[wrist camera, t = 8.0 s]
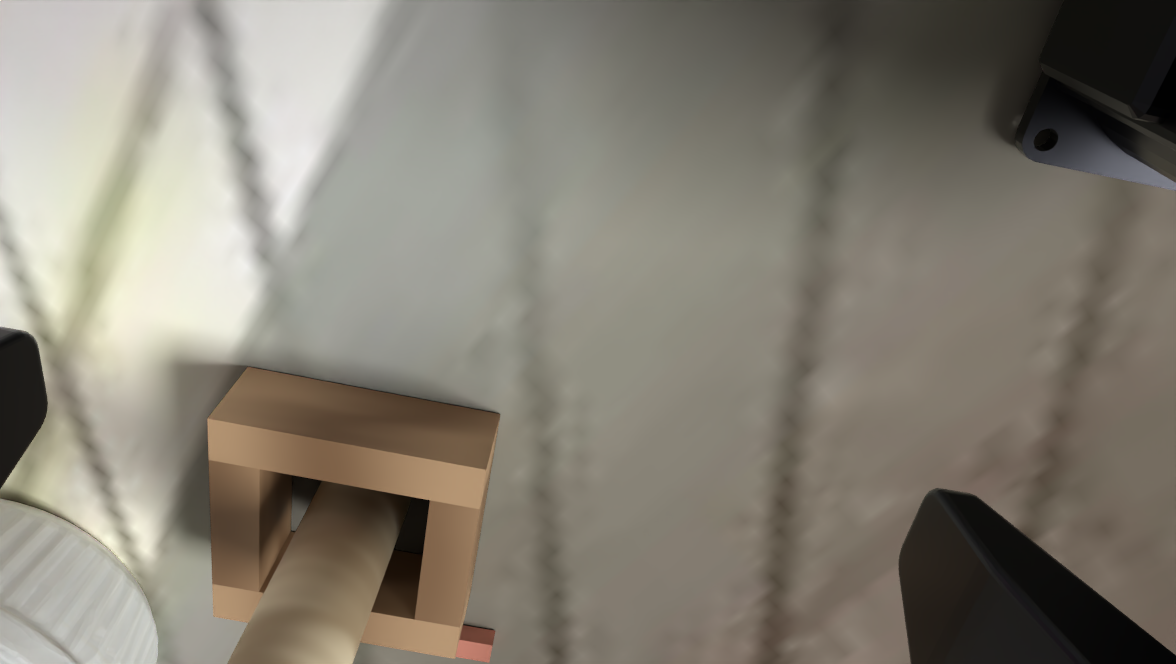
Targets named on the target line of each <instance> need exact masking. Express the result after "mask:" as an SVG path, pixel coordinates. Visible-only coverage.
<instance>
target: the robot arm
mask: <svg viewBox="0 0 1176 664" xmlns="http://www.w3.org/2000/svg"><path fill="white" fill-rule="evenodd" d="M1039 62H1040V64H1041V67H1042V69H1043V72H1042V74H1041V77H1040V79H1039V81H1038V84H1037V86H1036V88H1035V90H1034V93H1033V95H1032V97H1031V100H1030V102H1029V104H1028V106H1027V109H1026V111H1025V113H1024V116H1023V118H1022V120H1021V122H1020V125H1019V127H1018V129H1017V132H1016V137H1015V142H1016V147H1017V148H1018V150H1019V151H1020V152H1021V153H1022V154H1023V155H1024V156H1026V157H1027V158H1028V159H1031V160H1033V161H1035V162H1039V163H1044V164H1049V165H1054V166H1058V167H1063V168H1068V169H1073V170H1078V171H1083V172H1088V173H1092V174H1097V175H1102V176H1107V177H1112V178H1117V179H1122V180H1126V181H1131V182H1136V183H1141V184H1146V185H1151V186H1156V187H1160V188H1165V189H1170V190H1175V191H1176V0H1064V2H1063V5H1062V7H1061V9H1060V11H1059V14H1058V16H1057V18H1056V21H1055V23H1054V25H1053V28H1052V30H1051V32H1050V35H1049V37H1048V39H1047V42H1046V44H1045V46H1044V48H1043V51H1042V53H1041V55H1040V58H1039ZM1044 129H1050V131H1051V133H1050V138H1049V139H1048V140H1047V142H1046V143H1044V144H1042V145H1040V146H1034V138H1035V136H1036V135H1037V134H1038V132H1040V131H1042V130H1044ZM47 405H48V402H47V394H46V388H45V382H44V377H43V371H42V365H41V359H40V354H39V348H38V344H37V342H36V340H35V339H34V337H33V336H32V335H31V334H29V333H28V332H26V331H22V330H16V329H10V328H5V327H0V489H1V487H2V486H3V484H4V483H5V481H6V480H7V478H8V477H9V475H10V474H11V472H12V470H13V469H14V467H15V466H16V464H17V463H18V461H19V460H20V458H21V457H22V455H23V454H24V452H25V451H26V449H27V448H28V446H29V445H30V443H31V442H32V440H33V439H34V437H35V436H36V434H37V432H38V431H39V429H40V428H41V426H42V424H43V422H44V419H45V417H46V413H47ZM899 577H900V585H901V592H902V600H903V608H904V615H905V623H906V630H907V638H908V645H909V653H910V660H911V664H1176V655H1175V654H1173V653H1172V652H1171V651H1170V650H1168V649H1167V648H1166V647H1165V646H1163V645H1162V644H1161V643H1159V642H1158V641H1157V640H1156V639H1154V638H1153V637H1152V636H1151V635H1149V634H1148V633H1147V632H1146V631H1144V630H1143V629H1142V628H1141V627H1139V626H1138V625H1137V624H1136V623H1134V622H1133V621H1132V620H1131V619H1129V618H1128V617H1127V616H1126V615H1124V614H1123V613H1122V612H1121V611H1119V610H1118V609H1117V608H1116V607H1114V606H1113V605H1112V604H1111V603H1109V602H1108V601H1107V600H1106V599H1104V598H1103V597H1102V596H1101V595H1099V594H1098V593H1097V592H1096V591H1094V590H1093V589H1092V588H1091V587H1089V586H1088V585H1087V584H1086V583H1084V582H1083V581H1082V580H1081V579H1079V578H1078V577H1077V576H1076V575H1074V574H1073V573H1072V572H1071V571H1069V570H1068V569H1067V568H1066V567H1064V566H1063V565H1062V564H1061V563H1059V562H1058V561H1057V560H1056V559H1054V558H1053V557H1052V556H1051V555H1049V554H1048V553H1047V552H1046V551H1044V550H1043V549H1042V548H1041V547H1039V546H1038V545H1037V544H1036V543H1034V542H1033V541H1032V540H1031V539H1029V538H1028V537H1027V536H1026V535H1024V534H1023V533H1022V532H1021V531H1019V530H1018V529H1017V528H1016V527H1014V526H1013V525H1012V524H1011V523H1009V522H1008V521H1007V520H1006V519H1004V518H1003V517H1002V516H1001V515H999V514H998V513H997V512H996V511H994V510H993V509H992V508H991V507H989V506H988V505H987V504H986V503H984V502H983V501H982V500H981V499H979V498H978V497H977V496H975V495H973V494H970V493H965V492H959V491H953V490H947V489H941V488H936V489H933V490H931V491H929V492H928V494H927V495H926V496H925V498H924V499H923V501H922V503H921V506H920V508H919V510H918V512H917V514H916V517H915V519H914V521H913V523H912V525H911V528H910V530H909V532H908V534H907V536H906V539H905V541H904V543H903V545H902V548H901V552H900V556H899Z"/></svg>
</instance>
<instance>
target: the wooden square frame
mask: <svg viewBox="0 0 1176 664" xmlns="http://www.w3.org/2000/svg"><path fill="white" fill-rule="evenodd" d="M499 420H500V414H497V413H492V412H486V411H481V410H476V409H470V408H465V407H460V406H454V405H449V404H444V403H438V402H433V401H428V400H422V399H417V398H412V397H406V396H401V395H396V394H390V393H385V392H380V391H374V390H369V389H364V388H358V387H353V386H348V385H342V384H337V383H332V382H326V381H321V380H316V379H310V378H305V377H300V376H294V375H289V374H284V373H278V372H273V371H268V370H262V369H257V368H252V367H247V368H246V370H245V371H244V372H243V374H242V375H241V376H240V377H239V379H238V380H237V381H236V382H235V384H234V385H233V386H232V388H231V389H230V390H229V391H228V393H227V394H226V395H225V397H224V398H223V399H222V400H221V402H220V403H219V404H218V405H217V407H216V408H215V409H214V411H213V412H212V413H211V414H210V416H209V417H208V418H207V425H208V457H209V489H210V521H211V553H212V585H213V616H214V617H219V618H224V619H230V620H236V621H242V622H247V623H249V621H250V619H251V617H252V615H253V613H254V611H255V609H256V607H257V605H258V603H259V602H260V600H261V598H262V596H263V594H264V592H265V590H266V588H267V586H268V584H269V582H270V580H271V578H272V576H273V574H274V573H275V571H276V569H277V567H278V565H279V563H280V561H281V559H282V557H283V555H284V553H285V551H286V549H287V547H288V545H289V544H290V542H291V540H292V538H293V536H294V534H295V532H291V508H292V475H294V476H300V477H305V478H311V479H316V480H322V481H327V482H333V483H338V484H344V485H349V486H355V487H360V488H366V489H371V490H377V491H382V492H388V493H393V494H398V495H404V496H409V497H415V498H420V499H426V500H430V503H429V511H428V519H427V527H426V534H425V542H424V550H423V555H419V554H414V553H408V552H403V551H397V550H393V552H392V555H391V558H390V561H389V563H388V566H387V569H386V572H385V574H384V577H383V580H382V583H381V585H380V588H379V591H378V594H377V597H376V599H375V602H374V605H373V608H372V610H371V613H370V616H369V619H368V621H367V624H366V627H365V630H364V633H363V635H362V638H361V641H360V642H362V643H367V644H373V645H379V646H385V647H390V648H396V649H402V650H408V651H413V652H419V653H425V654H430V655H436V656H442V657H448V658H453V659H455V657H460V658H466V659H471V660H477V661H483V662H489V660H490V655H491V650H492V645H493V640H494V634H495V631H493V630H488V629H482V628H476V627H471V626H465V625H463V622H464V618H465V613H466V609H467V605H468V601H469V596H470V591H471V585H472V579H473V573H474V567H475V561H476V556H477V550H478V544H479V538H480V532H481V526H482V520H483V514H484V508H485V502H486V496H487V491H488V485H489V479H490V473H491V467H492V461H493V455H494V449H495V443H496V437H497V431H498V425H499Z"/></svg>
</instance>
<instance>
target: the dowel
mask: <svg viewBox="0 0 1176 664" xmlns="http://www.w3.org/2000/svg"><path fill="white" fill-rule="evenodd" d="M410 502H411V497H409V496H404V495H398V494H393V493H388V492H382V491H377V490H371V489H366V488H360V487H355V486H349V485H344V484H338V483H333V482H327V481H322V482H321V484H320V486H319V487H318V489H317V491H316V493H315V495H314V497H313V499H312V501H311V503H310V505H309V507H308V509H307V511H306V513H305V515H304V516H303V518H302V520H301V522H300V524H299V526H298V528H297V530H296V532H295V534H294V536H293V538H292V540H291V542H290V544H289V545H288V547H287V549H286V551H285V553H284V555H283V557H282V559H281V561H280V563H279V565H278V567H277V569H276V571H275V573H274V574H273V576H272V578H271V580H270V582H269V584H268V586H267V588H266V590H265V592H264V594H263V596H262V598H261V600H260V602H259V603H258V605H257V607H256V609H255V611H254V613H253V615H252V617H251V619H250V621H249V623H248V625H247V627H246V629H245V630H244V632H243V634H242V636H241V638H240V640H239V642H238V644H237V646H236V648H235V650H234V652H233V654H232V656H231V658H230V659H229V661H228V663H227V664H352V663H353V660H354V657H355V655H356V652H357V649H358V646H359V644H360V641H361V638H362V635H363V633H364V630H365V627H366V624H367V621H368V619H369V616H370V613H371V610H372V608H373V605H374V602H375V599H376V597H377V594H378V591H379V588H380V585H381V583H382V580H383V577H384V574H385V572H386V569H387V566H388V563H389V561H390V558H391V555H392V552H393V549H394V547H395V544H396V541H397V538H398V536H399V533H400V530H401V527H402V524H403V522H404V519H405V516H406V513H407V511H408V508H409V505H410Z"/></svg>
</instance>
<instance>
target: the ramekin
mask: <svg viewBox="0 0 1176 664" xmlns="http://www.w3.org/2000/svg"><path fill="white" fill-rule="evenodd" d="M157 645H158V636H157V632H156V625H155V621H154V619H153V616H152V612H151V609H150V606H149V603H148V600H147V598H146V596H145V594H144V592H143V590H142V588H141V587H140V585H139V584H138V582H137V581H136V579H135V578H134V576H133V575H132V574H131V572H130V571H129V570H128V569H127V567H126V566H125V565H124V564H123V563H122V562H121V561H120V560H119V559H118V558H117V557H116V556H115V555H114V554H113V553H112V552H111V551H110V550H109V549H108V548H106V547H105V546H104V545H103V544H101V543H100V542H99V541H97V540H96V539H95V538H93V537H92V536H91V535H89V534H88V533H86V532H85V531H83V530H81V529H80V528H78V527H77V526H75V525H73V524H71V523H70V522H68V521H66V520H64V519H62V518H60V517H57V516H55V515H53V514H51V513H48V512H46V511H43V510H41V509H38V508H35V507H32V506H28V505H25V504H21V503H18V502H15V501H10V500H5V499H0V664H156V661H157V656H158V648H157Z"/></svg>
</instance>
